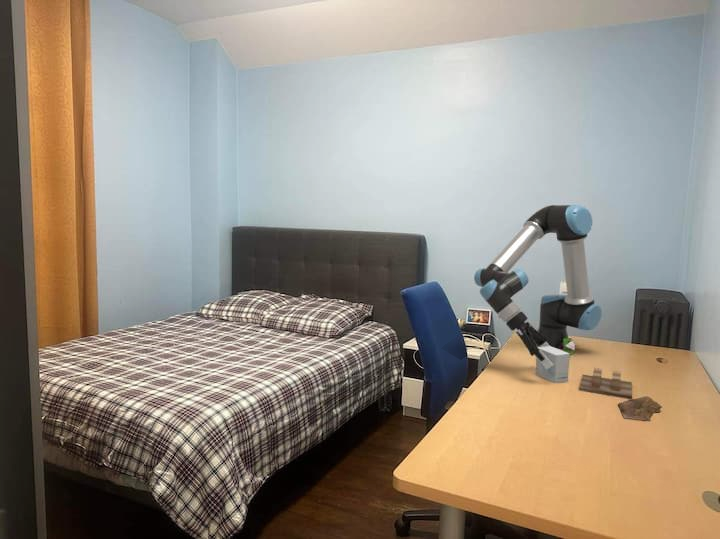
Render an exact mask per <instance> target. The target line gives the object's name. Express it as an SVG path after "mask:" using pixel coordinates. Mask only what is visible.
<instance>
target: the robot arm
mask: <svg viewBox="0 0 720 539" xmlns="http://www.w3.org/2000/svg"><path fill="white" fill-rule="evenodd" d="M522 226H523V228H522V229H521V230H520V231H519V232H518V233H517V234H516V235H515V236H514V237H513V238H512V239H511V240H510V242H508V244H507V245H506V246H505V247H504V249H502V250H501V252H499V254H498V255H497V256H496V257H495V258H494V260H492V261H491V262H490V264H489V265H488V266H487V267H485V268H479V269H477V270H476V271H475V273H474V279H473V280H474V283H475V284H476V286H478V287H481V288H480V290H479V294H480V296H481V297H482V298H483V299H484V301H485V302H486V303H487V304H488V305H489V306H490V308H492V309H493V311H494V312H495V313H496V314H497V315H498V318H499V319H501V320H502V321H503V323H504V322H505V324H506V326H507V327H508V328H509V329H510V330H511V331H515V329H516V330H517V331H515V333H516V335H517V336H518V337H519V338H520V340H521V341H522V343H523V345H524V346H525V348H526V349H527V351H528V352H529V354H530V356H532V357H533V356H535V357H536V358H537V359H538V360H539V361H540V362H541V363H542V365H543V366H544V367H545V368H546V369H549V368H550V367H551V366H553V364H552V363H551V361H550V360H549V359H548V358H547V357H546V356H545V355H544V353H543V352H542V351H541V350H540V351H539V349H538V347H545V346H551V347H554V348H557V349H559V350H564V349H563V347H562V346H563V343H562V341H563V340H562V339H563V338H569V334H568V332H567V327H571V328H575V329H578V330H580V331H591V330H594V329H595V328H596V327H597V326H598V324H599V323H600V322H601V318H602V315H603V314H602V312H603V311H602V308H601V306H600V305H599V304H597V303H595V298H594V296H593V295H592V294H591V293H590V289H589V288H590V286H589V285H590V284H589V277H588V271H587V270H588V269H587V268H588V267H587V259H586V258H587V257H586V250H585V240H586V238H587V237H588V234H589V233H590V231H591V230H592V226H593V216H592V214H591V211H590V210H589V209H588V208H586V207H585V206H582V205H576V204H568V205H567V204H564V205H563V204H562V205H561V204H560V205H559V204H558V205H556V204H555V205H553V204H552V205H548V206H544V207H542V208H541V209H539V210H537V211H536V212H534V213H533V214H532V215H531V216H530V217H529V218H528V219H527V220H526V221H525V222H524V223H523V225H522ZM547 234H555V236H556V240H557V241H558V242H560V243H561V244H560V245H561V250H562V259H563V267H564V268H563V269H564V275H565V276H564V277H565V284H566V292H567V294H546V295H543V296H541V299H540V305H539V306H540V308H539V326H538V329H535V328H534V327H533V325H531V323H530V322H529V321H527V320H528V316H526V314H525V312H523V311H520V310H521V308H520V307H519V306H518V305H517V304H516V302H515V301H513V299H512V297H513V296H514V295H516V294H517V293H519V292H521V290H524V288H525V287H526V286H527V285H528V284H529V277H528V274H527V273H526V272H525V271H524V270H523V269H520V268H516V269H514V270H511V269H512V268H513V267H514V266H515V265H516V264H517V263H518V261H519V260H520V259H521V258H522V257H523V256H524V255H525V254H526V252H528V250H529V249H531V247H532V246H533V245H534V244H535V243H536V242H537V240H541V239H542V238H543V237H545V235H547ZM510 270H511V272H509V271H510ZM563 342H564V341H563ZM561 343H562V344H561ZM560 348H561V349H560Z"/></svg>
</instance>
